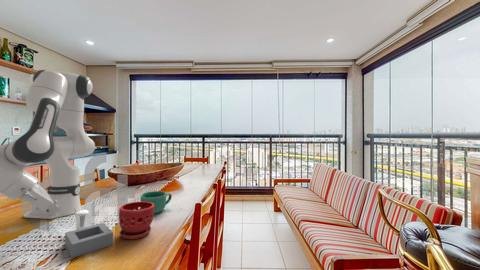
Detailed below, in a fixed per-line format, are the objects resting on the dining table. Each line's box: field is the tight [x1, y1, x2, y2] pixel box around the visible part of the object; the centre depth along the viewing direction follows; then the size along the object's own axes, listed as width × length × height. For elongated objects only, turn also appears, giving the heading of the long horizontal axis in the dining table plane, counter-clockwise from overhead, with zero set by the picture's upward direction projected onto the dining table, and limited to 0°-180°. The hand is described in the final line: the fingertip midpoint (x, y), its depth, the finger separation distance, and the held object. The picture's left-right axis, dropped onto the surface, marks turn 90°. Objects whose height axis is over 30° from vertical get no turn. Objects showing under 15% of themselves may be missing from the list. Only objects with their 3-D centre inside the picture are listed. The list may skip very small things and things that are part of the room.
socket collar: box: [64, 222, 114, 259], centre depth 76 cm, size 12×12×4 cm
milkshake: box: [74, 208, 90, 230], centre depth 84 cm, size 4×5×10 cm
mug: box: [140, 190, 173, 215], centre depth 111 cm, size 17×13×10 cm
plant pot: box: [118, 201, 155, 240], centre depth 85 cm, size 13×13×12 cm
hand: (57, 207), depth 79 cm, fingers open, 8 cm apart
